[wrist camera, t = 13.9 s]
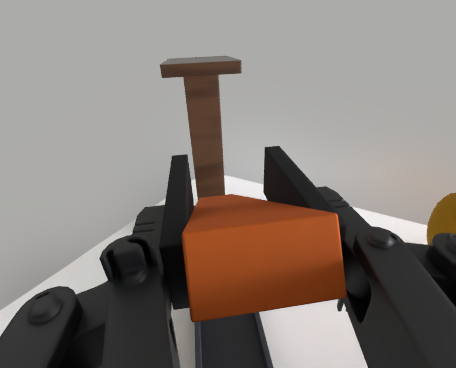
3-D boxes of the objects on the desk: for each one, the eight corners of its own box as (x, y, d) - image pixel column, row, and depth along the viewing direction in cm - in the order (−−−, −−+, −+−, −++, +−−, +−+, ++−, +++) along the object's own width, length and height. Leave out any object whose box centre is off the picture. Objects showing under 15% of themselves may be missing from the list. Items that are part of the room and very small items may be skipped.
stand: (243, 244, 46) (241, 60, 31) (189, 251, 45) (159, 64, 30) (232, 202, 58) (226, 55, 43) (188, 207, 57) (167, 58, 42)
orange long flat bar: (348, 298, 6) (338, 212, 6) (191, 324, 6) (181, 232, 6) (234, 212, 30) (232, 194, 30) (201, 216, 30) (199, 197, 30)
